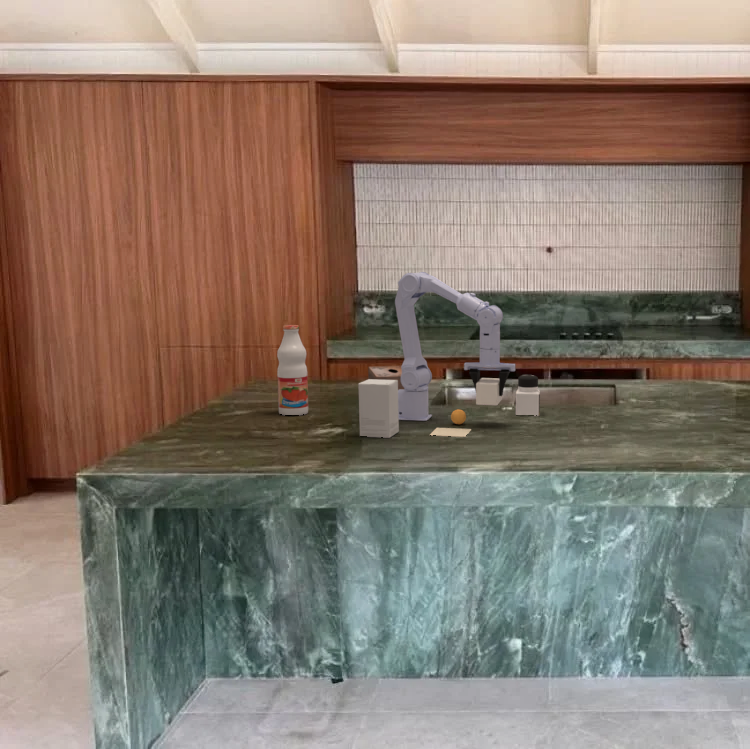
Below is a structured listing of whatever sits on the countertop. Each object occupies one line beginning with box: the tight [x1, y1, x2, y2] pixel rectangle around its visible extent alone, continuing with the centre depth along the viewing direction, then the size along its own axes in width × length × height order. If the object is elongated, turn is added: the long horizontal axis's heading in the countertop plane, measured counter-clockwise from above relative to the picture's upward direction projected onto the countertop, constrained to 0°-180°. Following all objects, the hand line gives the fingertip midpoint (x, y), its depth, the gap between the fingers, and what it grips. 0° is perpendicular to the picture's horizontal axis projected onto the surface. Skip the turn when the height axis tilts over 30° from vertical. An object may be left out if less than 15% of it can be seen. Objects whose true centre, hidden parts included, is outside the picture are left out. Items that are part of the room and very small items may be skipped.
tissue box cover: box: [367, 365, 404, 390], centre depth 294 cm, size 26×14×10 cm, turn 6°
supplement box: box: [357, 379, 400, 439], centre depth 236 cm, size 9×9×15 cm
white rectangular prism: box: [475, 377, 503, 406], centre depth 245 cm, size 10×6×6 cm, turn 163°
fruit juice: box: [276, 324, 309, 416], centre depth 268 cm, size 9×9×28 cm
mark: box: [429, 427, 472, 438], centre depth 238 cm, size 10×10×1 cm
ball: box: [450, 408, 467, 425], centre depth 249 cm, size 4×4×4 cm
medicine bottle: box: [515, 374, 541, 417], centre depth 262 cm, size 7×7×12 cm
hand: (489, 395), depth 246 cm, fingers closed on white rectangular prism, 6 cm apart
